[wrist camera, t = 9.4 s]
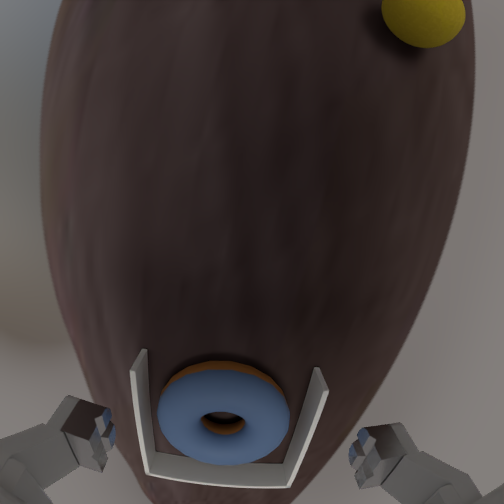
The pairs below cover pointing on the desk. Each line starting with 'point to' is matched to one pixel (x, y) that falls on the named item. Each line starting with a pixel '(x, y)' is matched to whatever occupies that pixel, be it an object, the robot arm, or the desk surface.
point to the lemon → (424, 20)
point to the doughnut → (223, 400)
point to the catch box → (224, 474)
